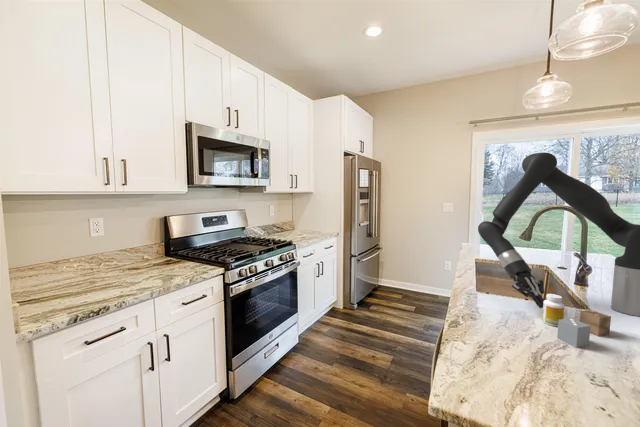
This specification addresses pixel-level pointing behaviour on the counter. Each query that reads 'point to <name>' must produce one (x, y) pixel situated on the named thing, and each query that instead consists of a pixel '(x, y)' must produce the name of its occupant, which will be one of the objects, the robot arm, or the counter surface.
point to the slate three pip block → (573, 332)
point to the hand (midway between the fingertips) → (543, 307)
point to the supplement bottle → (552, 310)
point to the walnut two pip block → (596, 322)
